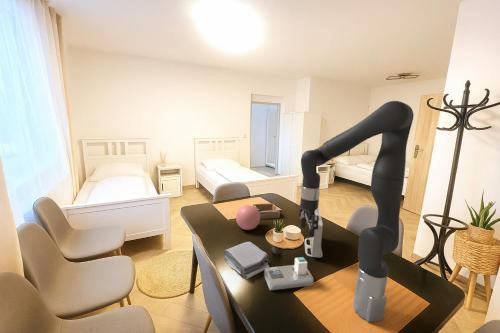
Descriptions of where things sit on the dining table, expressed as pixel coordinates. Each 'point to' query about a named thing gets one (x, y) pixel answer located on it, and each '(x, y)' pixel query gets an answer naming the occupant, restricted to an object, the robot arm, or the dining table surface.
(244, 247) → the towel
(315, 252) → the network device
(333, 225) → the dining table surface
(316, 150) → the robot arm
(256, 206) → the coaster tray
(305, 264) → the plug
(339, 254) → the dining table surface
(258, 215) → the pink rubber ball
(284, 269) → the patch panel
